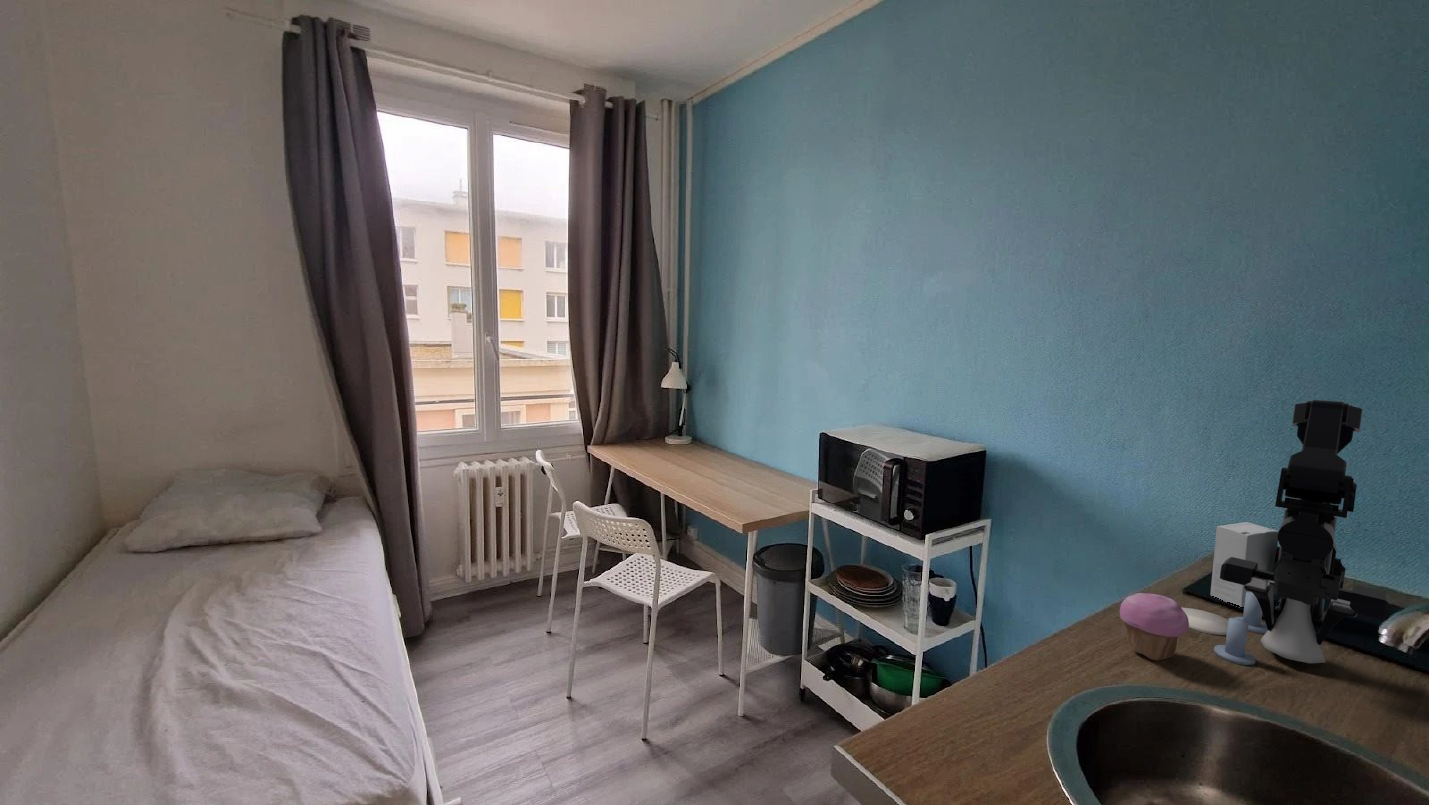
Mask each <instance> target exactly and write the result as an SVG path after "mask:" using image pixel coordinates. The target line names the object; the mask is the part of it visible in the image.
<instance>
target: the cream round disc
mask: <svg viewBox="0 0 1429 805" xmlns="http://www.w3.org/2000/svg"><path fill="white" fill-rule="evenodd" d="M1181 608H1182V609H1183V611H1184V612H1185V614H1186V615H1187V617H1188V620H1189V628H1188V629H1191V630H1194V631H1197V632H1200V633H1205V634H1209V635H1216V636H1227V628H1228V620H1229V619H1227V618H1225V617H1223V616H1220V615H1217V614H1216V613H1212V612H1210V611H1206V610H1201V609H1196V608H1193V607H1190V608H1189V607H1181Z"/></svg>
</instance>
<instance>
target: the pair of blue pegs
mask: <svg viewBox="0 0 1429 805" xmlns="http://www.w3.org/2000/svg"><path fill="white" fill-rule="evenodd" d="M1242 614H1243V615H1242V616H1234V617H1230V618H1228V619H1227V620H1228V628H1227V635H1225V636H1226V638H1225V644H1217V645H1215V646H1214V649H1213V653H1214V654H1215V655H1216V656H1218V657H1219V658H1221V659H1222V660H1225V661H1227V662H1230V663H1233V664H1236V665H1241V666H1253V665H1255V664H1256V657H1255V656H1254V654H1252V653H1250V652H1248V651H1246V648H1247V640H1248V632H1250V633H1255V634H1259V635H1260V634H1262V635H1265V633H1266V632H1267V631H1268V629H1267V626H1266V622H1263V621H1262V617H1263V613H1262V610H1261V607H1260V604H1259V602H1258V600H1257V598H1256V597H1255V595H1254V594H1253V593H1252V592H1246V597H1245V605H1244V608H1243V613H1242Z"/></svg>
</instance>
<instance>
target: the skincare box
mask: <svg viewBox="0 0 1429 805" xmlns="http://www.w3.org/2000/svg"><path fill="white" fill-rule="evenodd" d="M1215 532H1216V534H1215V543H1214V544H1215V545H1214V551H1213V552H1214V553H1213V554H1214V555H1213V562H1212V564H1213V565H1212V574H1211V582H1210V584H1211V585H1210V596H1211V597H1212V596H1214V597H1213V598H1215V597H1217V598H1219V599H1218V600H1220V599H1221V600H1220V601H1222V600H1223V602H1225V603H1227V602H1230V603H1233V604H1236V605H1239V606H1240V607H1244V605H1245V597H1246V592H1250V591H1247V590H1245V589H1244V586H1245V585H1241V584H1237V583H1233V582H1229V581H1225V580H1222V579H1220V572H1221V566H1222V564H1223V563H1224V562H1225V561H1226V559H1228V558H1230V557H1234V558H1239V559H1243V560H1248V561H1252V562H1257V563H1258V569H1259V570H1264V571H1268V572H1272V573H1274V564H1275V556H1276V549H1277V546H1278V545H1279V542H1278V532H1279V530H1277V529H1273V528H1269V527H1267V526H1262V525H1258V524H1255V523H1253V522H1248V521H1245V522H1238V523H1231V524H1224V525H1223V524H1222V525H1217V526H1216V531H1215ZM1217 598H1216V599H1217ZM1240 607H1239V608H1240Z"/></svg>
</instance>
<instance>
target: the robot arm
mask: <svg viewBox="0 0 1429 805" xmlns="http://www.w3.org/2000/svg"><path fill="white" fill-rule="evenodd" d="M1363 410H1364V409H1363V408H1362V407H1361V408H1360V407H1357V406H1354V405H1353V404H1349V403H1345V402H1344V401H1340V400H1339V401H1338V400H1336V401H1335V400H1321V399H1313V400H1307V401H1305V402H1303V403H1295V404H1294V410H1293V415H1292V416H1293V417H1292V422H1291V423H1292V426H1293V427H1297V429H1296V430H1297V432H1296V436H1297V438H1298V439H1299V440H1298V441H1300V442H1301V444H1302V448H1301V451H1298V452H1296V453H1294V454H1292V455H1290V456H1289V461H1288V465H1287V467H1281V470H1280V475H1279V476H1280V477H1279V481H1278V486H1277V487H1278V488H1277V493H1276V494H1277V495H1276V498H1275V504H1274V505H1275V507H1277V508H1282V509H1285V510H1284V513H1283V520H1282V522H1281V525H1280V528H1279V530H1278V531H1279V532H1278V545H1279V546H1278V545H1277V549H1276V556H1275V564H1274V573H1272V572H1268V571H1264V570H1259V569H1258V563H1257V562H1252V561H1248V560H1243V559H1239V558H1234V557H1230V558H1228V559H1226V561H1225V562H1224V563H1223V564H1222V566H1221V572H1220V579H1222V580H1225V581H1229V582H1233V583H1237V584H1241V585H1245V586H1244V589H1245V590H1247V591H1250V592H1252V593H1253V594H1254V595H1255V597H1256V598H1257V600H1258V602H1259V604H1260V607H1261V610H1262V617H1263V619H1264V623H1265V624H1266V626H1267V629H1268V630H1269V631H1271V630H1272V625H1273V623H1274V622H1275V621H1274V620H1275V618H1274V617H1275V616H1274V611H1275V609H1276V610H1279V611H1282V610H1283V608H1284V606H1285V603H1286V599H1287V598H1288V599H1292V600H1296V601H1300V602H1303V603H1304V604H1308V605H1311V607H1310V611H1311V619H1313V620H1317V621H1321V620H1322V621H1321V622H1322V623H1321V625H1320V628H1319V631H1318V634H1317V643H1318V645H1320V646H1321V645H1322V644H1323V642H1324V641H1325V639H1326V638H1327V636H1328V635H1330V634H1329V633H1330V632H1331V631H1332V630H1333V628H1334V627H1335V626H1336V625H1337V624H1338V623H1339V622H1340V621H1341V620H1342V619H1344V618H1345V617H1349V618H1356V617H1357V615H1361V616H1365V617H1369V618H1373V619H1375V620H1376V619H1377V620H1381V621H1387V620H1386V619H1388V618H1389V619H1390V616H1391V615H1390V614H1391V607H1392V597H1393V596H1391V595H1390V594H1389V593H1388V592H1387V591H1384V590H1379V589H1375V588H1372V587H1367V586H1362V585H1357V584H1353V585H1352V590H1349V589H1346V588H1344V580H1345V575H1346V567H1345V566H1344V565H1343V563H1342V558H1339V557H1337V549H1338V548H1337V546H1336V544H1335V534H1336V528H1337V521H1338V518H1345V519H1348V518H1347V516H1348V512H1349V513H1350V512H1351V513H1354V509H1355V503H1356V502H1355V501H1356V495H1357V494H1356V493H1357V487H1358V485H1357V483H1356V482H1355V481H1354V477H1353V476H1351V475H1346V473H1347V472H1346V471H1347V464H1348V463H1347V461H1346V460H1345V459H1343V458H1342V457H1341V456H1339V453H1340V452H1342V450H1344V449H1345V448H1346V447H1348V445H1349V444H1351V443H1352V441H1353V435H1354V432H1357V433H1358V432H1360V430H1361V424H1362V423H1361V422H1362V417H1363ZM1284 491H1285V492H1284ZM1283 496H1284V500H1283ZM1342 499H1343V502H1342ZM1341 504H1342V508H1340V505H1341ZM1339 508H1340V509H1339ZM1337 517H1338V518H1337ZM1274 595H1275V596H1276V597H1278V598H1279V599H1278V601H1277V603H1278V602H1280V603H1279V605H1278V606H1276V605H1274V604H1275V603H1274ZM1325 600H1329V603H1328V606H1327V609H1326V610H1324V609H1325V608H1324V607H1325V602H1326V601H1325ZM1277 608H1278V609H1277ZM1324 611H1325V612H1324ZM1318 619H1319V620H1318Z"/></svg>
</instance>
